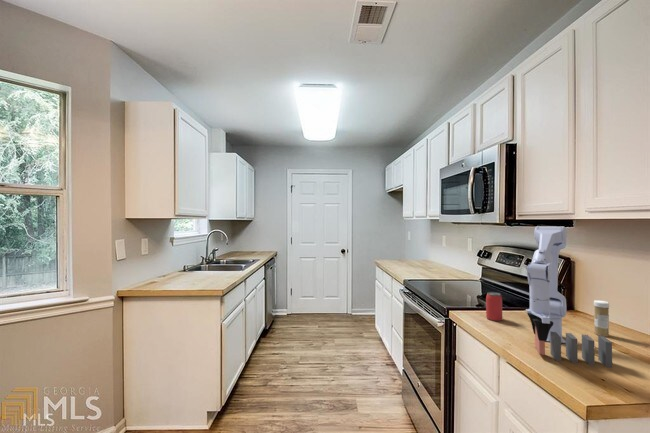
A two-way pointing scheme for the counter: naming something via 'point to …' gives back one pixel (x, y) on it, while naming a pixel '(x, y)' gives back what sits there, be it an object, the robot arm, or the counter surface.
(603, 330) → the sprinkles bottle
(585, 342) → the domino
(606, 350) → the domino
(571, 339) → the domino
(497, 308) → the beer can
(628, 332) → the counter surface
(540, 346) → the red domino
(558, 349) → the domino
